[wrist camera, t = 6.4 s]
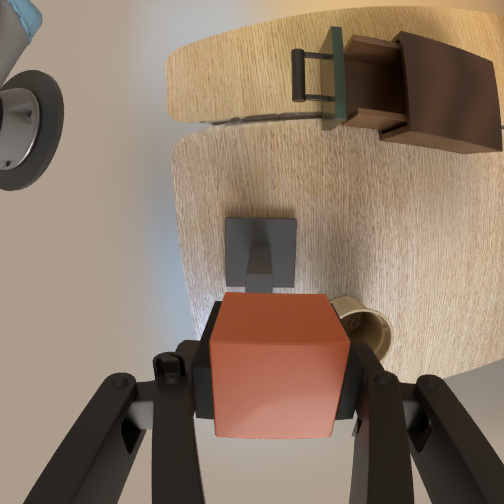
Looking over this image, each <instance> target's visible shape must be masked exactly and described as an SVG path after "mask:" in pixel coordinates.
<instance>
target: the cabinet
mask: <svg viewBox="0 0 504 504" xmlns="http://www.w3.org/2000/svg"><path fill="white" fill-rule="evenodd" d="M391 42H395V43H399V44H400V47H401V55H402V63H403V72H404V82H405V94H406V109H407V126H404V127H401V128H398V129H395V130H393V131H386V130H380V141H387V142H395V143H402V144H409V145H416V146H422V147H428V148H434V149H440V150H445V151H451V152H456V153H461V154H471V153H486V152H502V151H503V150H502V130H501V117H500V107H499V99H498V91H497V84H496V78H495V72H494V67H493V62H492V61H489V60H487V59H485V58H482V57H480V56H477V55H475V54H472V53H470V52H467V51H465V50H462V49H459V48H456V47H453V46H451V45H448V44H445V43H442V42H438V41H435V40H432V39H429V38H425V37H422V36H418V35H414V34H411V33H407V32H403V31H400V32H399V34H397V35H396V36H395V37H394V38H393V40H392V41H391Z"/></svg>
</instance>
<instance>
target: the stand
mask: <svg viewBox="0 0 504 504" xmlns="http://www.w3.org/2000/svg"><path fill="white" fill-rule="evenodd" d="M296 227H297V220H296V219H294V218H226V219H225V253H226V286H229V287H246V293H272V288H273V287H287V288H294V278H295V255H296Z"/></svg>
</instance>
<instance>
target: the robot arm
mask: <svg viewBox="0 0 504 504" xmlns="http://www.w3.org/2000/svg"><path fill="white" fill-rule="evenodd" d="M41 24H42V14H41V12H40V11H39V10H38V8H37V7H36V6H35V5H34V4H33V3H32V2H31V1H30V0H0V89H1V87H2V85H3V83H4V81H5V80H6V78H7V76H8V75H9V73H10V71H11V70H12V68H13V67H14V65H15V63H16V61H17V60H18V59H19V57H20V56H21V54H22V52H23V51H24V50H25V48H26V47H27V46H28V45H29V44H30V42H31V39H32V38H33V36H34V35H35V33H36V32H37V31H38V29H39V28H40V26H41ZM41 124H42V109H41V104H40V101H39V99H38V97H37V95H36V94H35V93H34V92H32V91H30V90H28V89H24V88H13V89H8V90H3V91H0V170H13V169H16V168H18V167H19V166H21V165H22V164H23V163H24V162H25V161H26V160H27V159H28V158H29V156H30V155H31V153H32V151H33V150H34V148H35V146H36V143H37V141H38V138H39V134H40V130H41ZM221 304H222V301H215V303H214V306H213V308H212V311H211V313H210V316H209V319H208V321H207V324H206V326H205V329H204V332H203V334H202V337H201V340H200V341H196V340H184V341H183V342H181V343H180V344H179V345H178V347H177V349H176V352H164V353H161V354H158V355H157V356H155V357H154V359H153V368H154V373H155V380H154V381H148V382H136V379H135V377H134V376H132V375H131V374H128V373H115V374H112V375H110V376H108V377H107V378H106V379H105V380H104V381H103V383H102V384H101V386H100V387H99V389H98V390H97V392H96V393H95V394H94V396H93V397H92V399H91V400H90V401H89V403H88V404H87V406H86V407H85V409H84V410H83V412H82V413H81V414H80V416H79V417H78V419H77V420H76V422H75V423H74V425H73V426H72V428H71V429H70V431H69V432H68V434H67V435H66V437H65V438H64V440H63V441H62V443H61V444H60V446H59V447H58V449H57V450H56V452H55V453H54V455H53V456H52V458H51V460H50V461H49V463H48V464H47V466H46V467H45V469H44V470H43V472H42V474H41V475H40V477H39V478H38V480H37V481H36V483H35V485H34V486H33V488H32V490H31V491H30V493H29V495H28V496H27V498H26V499H25V501H24V503H23V504H117V503H118V500H119V497H120V495H121V492H122V490H123V487H124V485H125V482H126V480H127V477H128V475H129V472H130V470H131V467H132V465H133V462H134V460H135V457H136V455H137V452H138V450H139V448H140V445H141V443H142V440H143V438H144V435H145V433H146V429H152V430H153V431H152V504H206V502H205V496H204V491H203V484H202V478H201V471H200V466H199V458H198V451H197V443H196V435H195V427H194V419H193V416H194V412H196V418H203V419H214V406H213V391H212V375H211V365H210V347H209V341H210V337H211V334H212V331H213V328H214V325H215V322H216V319H217V316H218V313H219V310H220V307H221ZM331 305H332V307H333V309H334V311H335V313H336V315H337V317H338V319H339V321H340V323H341V325H342V327H343V329H344V330H345V332H346V334H347V336H348V338H349V340H350V349H349V354H348V360H347V365H346V370H345V375H344V380H343V385H342V390H341V395H340V399H339V404H338V408H337V413H336V417H335V420H343V419H353V415H354V412H355V410H356V412H357V415H358V417H357V420H356V424H355V427H354V430H353V434H352V436H353V437H354V436H355V442H354V456H353V469H352V480H351V491H350V499H349V504H414V490H413V477H412V467H411V457H410V453H411V455H412V458H413V460H414V462H415V465H416V467H417V469H418V471H419V474H420V476H421V479H422V481H423V483H424V486H425V488H426V490H427V493H428V495H429V498H430V500H431V502H432V504H504V464H503V463H502V461H501V460H500V458H499V457H498V455H497V454H496V453H495V451H494V449H493V448H492V446H491V445H490V443H489V442H488V441H487V439H486V438H485V436H484V435H483V433H482V432H481V431H480V429H479V428H478V426H477V425H476V423H475V422H474V421H473V419H472V418H471V416H470V415H469V414H468V412H467V411H466V410H465V408H464V407H463V406H462V404H461V403H460V402H459V400H458V399H457V397H456V396H455V395H454V393H453V392H452V391H451V389H450V388H449V387H448V386H447V384H446V383H445V382H444V381H443V380H442V379H441V378H440V377H438V376H435V375H422V376H420V377H419V378H418V379H417V382H416V384H410V383H402V382H399V380H398V378H397V376H396V375H394V374H393V373H391V372H388V371H385V370H384V368H383V366H382V365H381V363H380V361H379V360H378V358H377V356H376V355H375V353H374V351H373V350H372V348H371V346H369V345H368V344H366V343H365V342H352V340H351V338H350V336H349V334H348V332H347V330H346V328H345V327H344V325H343V323H342V321H341V319H340V317H339V315H338V313H337V311H336V310H335V308H334V306H333V304H332V303H331Z"/></svg>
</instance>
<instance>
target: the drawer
mask: <svg viewBox="0 0 504 504" xmlns="http://www.w3.org/2000/svg"><path fill="white" fill-rule="evenodd" d="M304 58H314V59H320V64H321V90H322V95H311V94H306V95H305V60H304ZM291 63H292V101H294V102H305V101H306V100H312V101H322V130H333V129H334V128H335V127H337V126H338V125H339V124H341V123H342V126H351V127H361V128H370V129H378V130H386V131H393V130H395V129H398V128H401V127H404V126H407V109H406V94H405V82H404V72H403V63H402V55H401V47H400V44H399V43H395V42H390V41H385V40H380V39H375V38H370V37H364V36H358V35H352V37H351V38H350V40H349V42H348V43H347V45H346V46H345V48H344V49H343V40H342V30H341V27H334V26H331V27H330V30H329V32H328V34H327V36H326V39H325V41H324V43H323V45H322V48H321V50H320V53H311V52H304V50H302V49H293V50H291Z"/></svg>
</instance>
